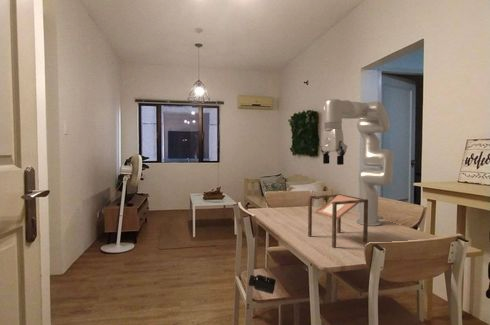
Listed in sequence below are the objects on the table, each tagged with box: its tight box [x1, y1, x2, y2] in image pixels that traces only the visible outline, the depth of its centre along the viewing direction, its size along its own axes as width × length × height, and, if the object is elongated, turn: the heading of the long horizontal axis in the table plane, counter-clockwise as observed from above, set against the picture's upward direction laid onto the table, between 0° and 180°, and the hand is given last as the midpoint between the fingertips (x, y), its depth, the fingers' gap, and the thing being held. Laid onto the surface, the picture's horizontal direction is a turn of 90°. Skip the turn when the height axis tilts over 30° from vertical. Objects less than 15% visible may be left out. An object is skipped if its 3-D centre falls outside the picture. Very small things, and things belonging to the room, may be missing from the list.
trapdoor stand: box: [307, 193, 369, 249], centre depth 138 cm, size 19×19×20 cm
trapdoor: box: [315, 194, 361, 220], centre depth 138 cm, size 16×15×1 cm
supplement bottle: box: [248, 274, 277, 295], centre depth 137 cm, size 7×7×12 cm
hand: (333, 164), depth 136 cm, fingers open, 9 cm apart
